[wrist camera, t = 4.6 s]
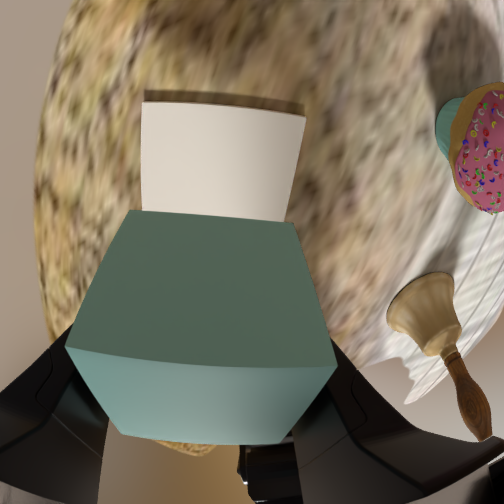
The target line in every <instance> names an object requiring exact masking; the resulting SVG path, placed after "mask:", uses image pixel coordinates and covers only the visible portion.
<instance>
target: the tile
mask: <svg viewBox="0 0 504 504" xmlns="http://www.w3.org/2000/svg"><path fill="white" fill-rule="evenodd" d="M306 119H307V118H306V117H305V116H302V115H297V114H291V113H285V112H279V111H273V110H266V109H258V108H251V107H242V106H233V105H223V104H211V103H196V102H174V101H144V102H142V119H141V192H142V211H158V212H172V213H186V214H199V215H212V216H224V217H235V218H246V219H257V220H267V221H277V222H284V219H285V215H286V210H287V206H288V201H289V197H290V193H291V188H292V184H293V179H294V175H295V170H296V166H297V161H298V156H299V152H300V147H301V142H302V138H303V133H304V128H305V123H306Z"/></svg>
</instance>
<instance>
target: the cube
mask: <svg viewBox="0 0 504 504" xmlns="http://www.w3.org/2000/svg"><path fill="white" fill-rule="evenodd" d="M65 348H66V350H67V352H68V353H69V355H70V357H71V359H72V361H73V362H74V364H75V366H76V368H77V369H78V371H79V373H80V374H81V376H82V378H83V379H84V381H85V382H86V384H87V386H88V387H89V389H90V390H91V392H92V393H93V395H94V396H95V398H96V399H97V401H98V402H99V404H100V405H101V407H102V408H103V410H104V411H105V412H106V414H107V415H108V417H109V418H110V419H111V421H112V422H113V423H114V425H115V426H116V427H117V428H118V430H119V431H120V433H121V434H124V435H130V436H136V437H142V438H149V439H156V440H164V441H173V442H184V443H198V444H218V445H260V444H279V443H280V442H281V441H282V439H283V438H284V437H285V436H286V435H287V433H288V432H289V431H290V430H291V428H292V427H293V426H294V425H295V424H296V422H297V421H298V420H299V418H300V417H301V416H302V415H303V413H304V412H305V411H306V409H307V408H308V407H309V405H310V404H311V403H312V401H313V400H314V399H315V397H316V396H317V395H318V393H319V392H320V391H321V389H322V388H323V386H324V385H325V384H326V382H327V381H328V379H329V378H330V376H331V375H332V374H333V372H334V371H335V369H336V368H337V366H338V365H337V361H336V358H335V354H334V351H333V347H332V344H331V340H330V337H329V333H328V330H327V327H326V323H325V320H324V317H323V313H322V310H321V307H320V304H319V300H318V297H317V294H316V291H315V288H314V284H313V281H312V278H311V275H310V272H309V269H308V266H307V263H306V260H305V257H304V254H303V251H302V248H301V245H300V242H299V239H298V236H297V233H296V230H295V227H294V224H293V223H287V222H277V221H267V220H257V219H246V218H235V217H224V216H212V215H199V214H186V213H172V212H158V211H142V210H129V212H128V214H127V215H126V217H125V219H124V221H123V222H122V224H121V226H120V228H119V230H118V231H117V233H116V235H115V237H114V239H113V241H112V242H111V244H110V246H109V248H108V250H107V252H106V254H105V256H104V258H103V260H102V262H101V264H100V266H99V268H98V270H97V272H96V274H95V276H94V278H93V280H92V282H91V285H90V287H89V289H88V291H87V293H86V295H85V298H84V300H83V302H82V304H81V307H80V309H79V311H78V314H77V316H76V319H75V321H74V323H73V326H72V328H71V331H70V333H69V336H68V339H67V341H66V344H65Z"/></svg>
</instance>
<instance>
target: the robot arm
mask: <svg viewBox="0 0 504 504" xmlns="http://www.w3.org/2000/svg"><path fill="white" fill-rule="evenodd" d="M72 326H73V324H72V325H71V326H70V327H69V328H68V329H67V330H66V331H65V332H64V333H63V334H62V335H61V336H60V337H59V338H58V339H57V340H56V341H55V342H54V343H53V344H52V345H51V346H50V347H49V348H48V349H47V350H46V351H45V352H44V353H43V354H42V355H41V356H40V357H39V358H38V359H37V360H36V361H35V362H34V363H33V364H32V365H31V366H30V367H28V368H27V369H26V370H25V371H24V372H23V373H22V374H21V375H20V376H18V377H17V378H16V379H15V380H14V381H13V382H12V383H10V384H9V385H8V386H7V387H6V388H5V389H4V390H2V391H1V392H0V504H97V501H98V489H99V482H100V474H101V466H102V457H103V451H104V445H105V439H106V433H107V428H108V422H109V417H108V415H107V414H106V412H105V411H104V410H103V408H102V407H101V405H100V404H99V402H98V401H97V399H96V398H95V396H94V395H93V393H92V392H91V390H90V389H89V387H88V386H87V384H86V382H85V381H84V379H83V378H82V376H81V374H80V373H79V371H78V369H77V368H76V366H75V364H74V362H73V361H72V359H71V357H70V355H69V353H68V352H67V350H66V348H65V344H66V341H67V339H68V336H69V333H70V331H71V328H72ZM329 337H330V336H329ZM330 340H331V344H332V347H333V351H334V354H335V358H336V361H337V365H338V366H337V368H336V369H335V371H334V372H333V374H332V375H331V376H330V378H329V379H328V381H327V382H326V384H325V385H324V386H323V388H322V389H321V391H320V392H319V393H318V395H317V396H316V397H315V399H314V400H313V401H312V403H311V404H310V405H309V407H308V408H307V409H306V411H305V412H304V413H303V415H302V416H301V417H300V418H299V420H298V421H297V422H296V424H295V425H294V426H293V427H292V428H291V430H290V431H289V432H288V433H287V435H286V436H285V437H284V438H283V439H282V441H281V442H280V443H279V444H260V445H240V455H239V461H238V467H237V473H238V474H239V475H241V477H242V480H243V483H244V484H245V485H247V486H248V494H249V496H250V497H251V499H252V500H253V501H254V502H255V503H256V504H504V456H503V457H502V458H500V459H498V460H496V461H495V462H493V463H491V464H489V465H488V464H487V463H488V462H490V461H491V460H493V459H494V458H496V457H497V456H499V455H500V454H501V453H503V452H504V440H503V439H501V438H498V437H495V436H491V437H490V438H488V439H486V440H485V441H482V442H478V443H477V442H467V441H462V440H458V439H454V438H450V437H446V436H442V435H438V434H434V433H431V432H427V431H423V430H421V429H419V428H417V427H415V426H414V425H412V424H411V423H410V422H409V421H407V420H406V419H405V418H404V417H403V416H402V415H401V414H400V413H399V412H398V411H397V410H396V409H395V408H394V407H393V406H392V405H391V404H389V403H388V402H387V401H386V400H385V399H384V398H383V397H382V396H381V395H380V394H379V393H378V392H377V391H376V390H375V389H374V388H373V386H372V385H371V384H370V383H369V382H368V381H367V380H366V379H365V378H364V376H363V375H362V374H361V373H360V372H359V370H356V369H357V368H356V367H355V366H354V365H353V363H352V362H351V361H350V360H349V359H348V357H347V356H346V355H345V354H344V353H343V352H342V350H341V349H340V348H339V347H338V346H337V344H336V343H335V342H334V341H333V340H332V339H331V337H330Z"/></svg>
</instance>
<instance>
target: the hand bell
mask: <svg viewBox="0 0 504 504" xmlns="http://www.w3.org/2000/svg"><path fill="white" fill-rule="evenodd" d="M453 295H454V282H453V279H452V277H451V276H450V275H448V274H447V273H444V272H434V273H430V274H427V275H425V276H422V277H420V278H418V279H416V280H415V281H413V282H412V283H410V284H409V285H408V286H406V287H405V288H404V289H403V290H402V291H401V292H400V293H399V294H398V295H397V297H396V298H395V299H394V300H393V302H392V303H391V305H390V307H389V309H388V311H387V323H388V325H389V326H390V327H391V328H392V329H393V330H395V331H397V332H401V333H406V334H407V335H409V336H410V337H411V338H412V339H413V340H414V341H415V342H416V343H417V344H418V346H419V347H420V349H421V350H422V352H423V353H424V354H425V355H426V356H436V355H440V356H441V357H442V359H443V361H444V364H445V366H446V367H447V369H448V371H449V373H450V375H451V377H452V379H453V381H454V383H455V386H456V391H457V401H458V406H459V409H460V413H461V416H462V418H463V420H464V422H465V424H466V426H467V427H468V428H469V430H470V431H471V432H472V433H473V434H474V435H475V436H476V438H477V439H478V441H479V442H482V441H484V440H485V439H487V438H489V437H490V436H491V435H492V426H491V411H490V406H489V403H488V401H487V398H486V396H485V394H484V393H483V391H482V389H481V388H480V387H479V385H478V384H477V383H476V382H475V381H474V380H473V379H472V378H471V376H470V375H469V373H468V371H467V369H466V367H465V364H464V362H463V360H462V358H461V355H460V353H459V352H458V349H457V347H456V342H457V340H458V339H459V337H460V335H461V332H462V328H461V325H460V323H459V321H458V318H457V316H456V313H455V310H454V306H453Z"/></svg>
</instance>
